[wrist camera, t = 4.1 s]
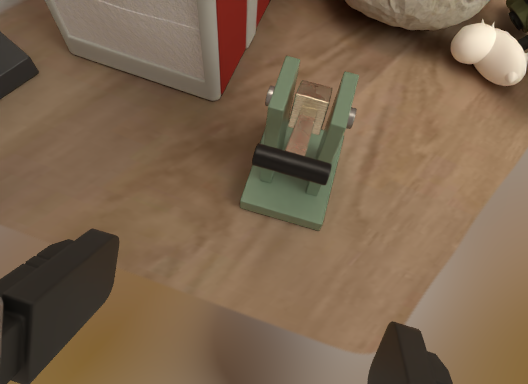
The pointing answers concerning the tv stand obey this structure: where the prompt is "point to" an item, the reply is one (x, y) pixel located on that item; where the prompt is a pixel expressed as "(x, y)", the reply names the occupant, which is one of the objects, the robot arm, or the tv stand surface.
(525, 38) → the rocket launcher
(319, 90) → the lever
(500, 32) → the toy creature
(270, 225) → the tv stand surface
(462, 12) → the decorative shell
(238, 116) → the tv stand surface
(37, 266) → the robot arm
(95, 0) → the red striped gift box
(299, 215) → the switch bracket
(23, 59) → the switch box
